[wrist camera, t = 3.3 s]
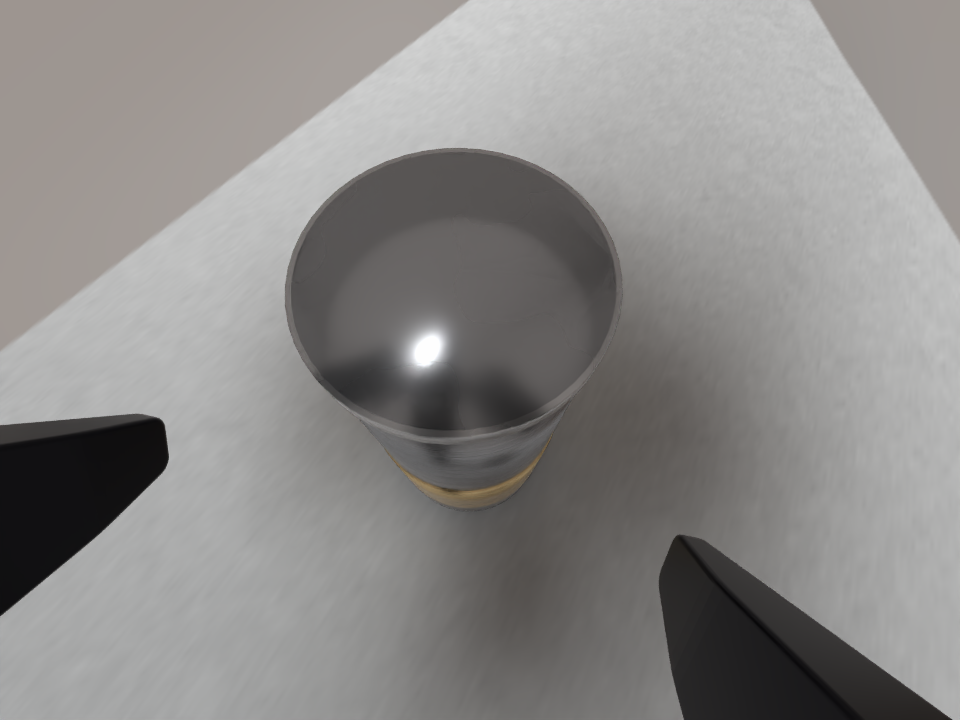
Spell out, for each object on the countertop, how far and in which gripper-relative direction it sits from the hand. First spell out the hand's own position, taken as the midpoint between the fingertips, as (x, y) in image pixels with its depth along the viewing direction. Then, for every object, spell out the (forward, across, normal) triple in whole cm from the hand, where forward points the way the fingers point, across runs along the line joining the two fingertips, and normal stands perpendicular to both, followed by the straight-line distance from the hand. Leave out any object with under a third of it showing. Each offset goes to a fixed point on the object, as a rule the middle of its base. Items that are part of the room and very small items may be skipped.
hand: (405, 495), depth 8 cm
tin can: (+11, 0, -6) cm, 12 cm away
